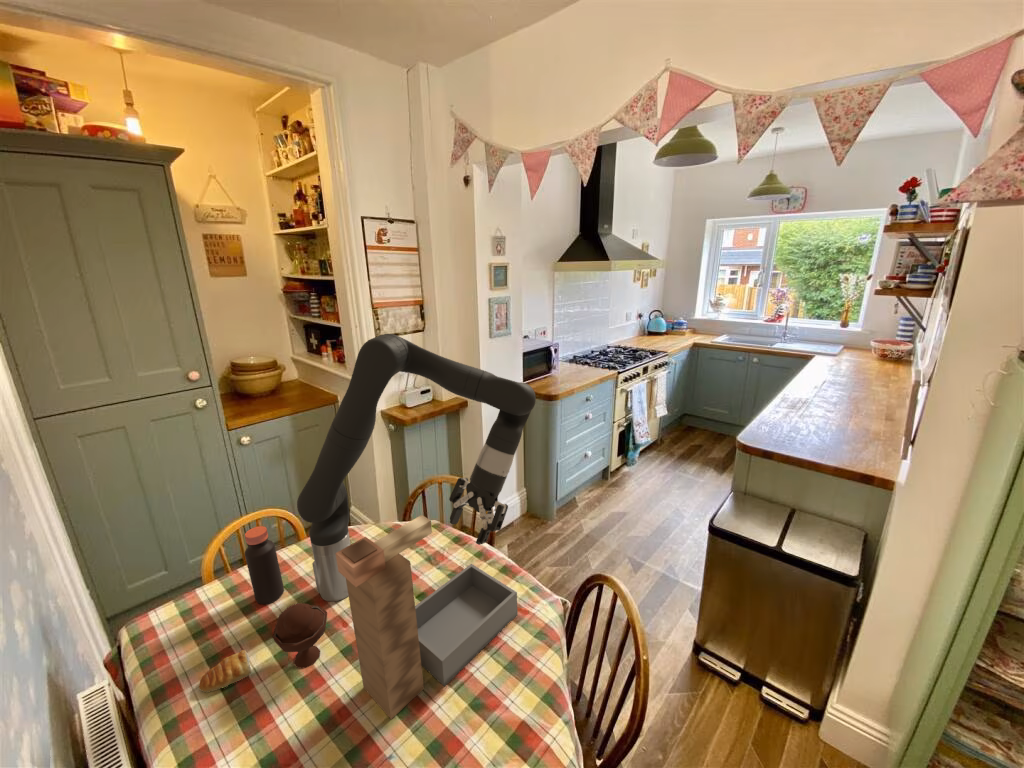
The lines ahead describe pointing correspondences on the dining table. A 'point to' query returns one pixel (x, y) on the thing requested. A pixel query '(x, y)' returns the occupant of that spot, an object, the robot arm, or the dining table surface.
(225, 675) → the pastry
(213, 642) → the dining table surface
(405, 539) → the catapult arm
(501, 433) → the robot arm
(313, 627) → the ice cream bowl
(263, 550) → the bottle
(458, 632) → the bin
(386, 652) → the tower
